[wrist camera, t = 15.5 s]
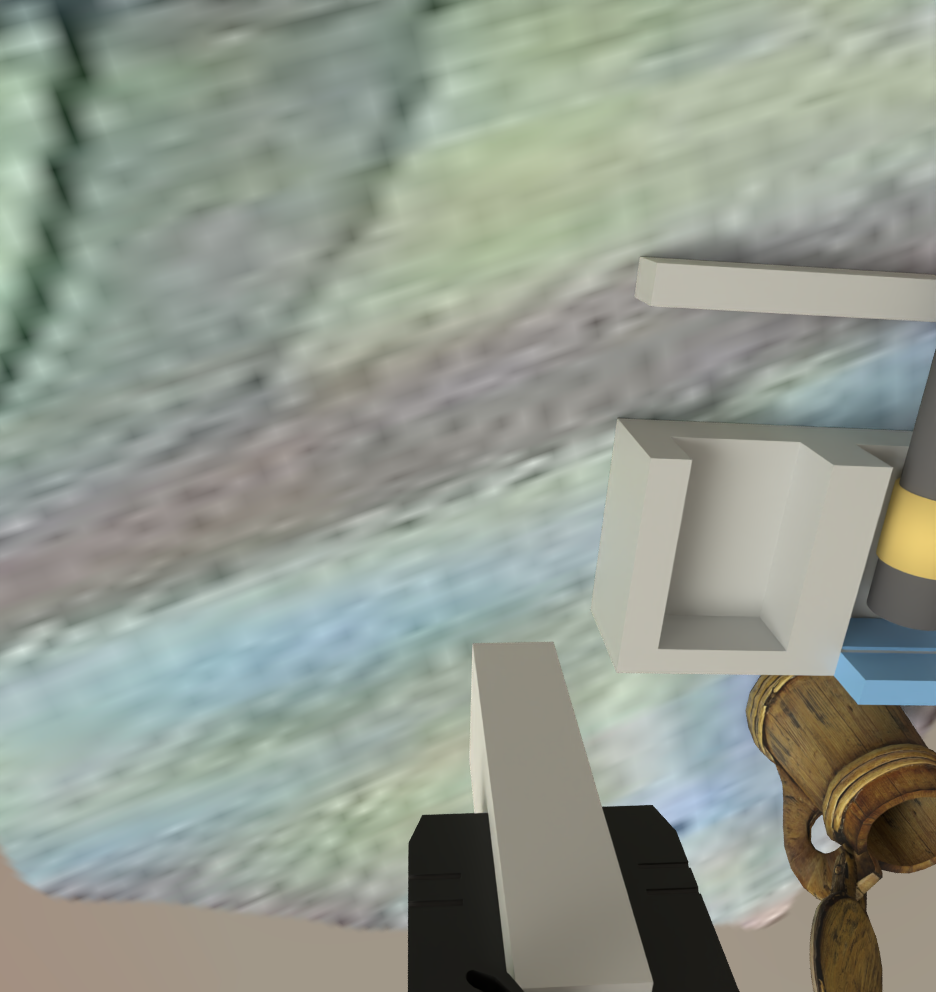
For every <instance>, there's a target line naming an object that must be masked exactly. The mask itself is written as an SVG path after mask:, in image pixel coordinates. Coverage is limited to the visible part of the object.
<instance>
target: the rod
mask: <svg viewBox="0 0 936 992" xmlns="http://www.w3.org/2000/svg"><path fill="white" fill-rule="evenodd" d="M876 554H877V556H878V557H879V558H878V561H877V565H876V569H875V572H874V576H873V579H872V583H871V587H870V590H869V594H868V598H867V606H868V607H869V609H870V610H871V611H872V612H874V613H875V614H876V615H878V616H879V617H881V618H883V619H885V620H887V621H889V622H892V623H894V624H897V625H900V626H903V627H907V628H911V629H916V630H923V631H936V350H935V354H934V357H933V361H932V364H931V368H930V372H929V375H928V379H927V383H926V386H925V390H924V394H923V397H922V401H921V405H920V408H919V412H918V416H917V419H916V423H915V426H914V430H913V434H912V437H911V441H910V445H909V448H908V452H907V456H906V459H905V463H904V467H903V470H902V474H901V477H900V478H898V479H896V480H895V483H894V487H893V490H892V494H891V498H890V501H889V505H888V509H887V512H886V516H885V520H884V523H883V527H882V531H881V534H880V538H879V542H878V545H877V549H876Z"/></svg>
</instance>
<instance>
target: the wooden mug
mask: <svg viewBox="0 0 936 992" xmlns="http://www.w3.org/2000/svg"><path fill="white" fill-rule="evenodd" d="M746 716H747V722H748V728H749V730H750V733H751V735H752V738H753V740H754V743H755V744H756V746H757V747H758V748H759V750H760V751H761V752H762V753H763V754H764V755H765V756H766V757H767V758H768V759H769V760H771V761H772V762H773V763H774V764H776V767H777V770H778V773H779V775H780V778H781V781H782V785H783V832H784V847H785V850H786V854H787V857H788V860H789V863H790V866H791V869H792V871H793V872H794V874H795V875H796V877H797V878H798V880H799V881H800V883H801V884H802V886H803V887H804V888H805V889H806V890H807V891H808V892H810V893H811V894H812V895H813V896H815V897H816V898H817V899H819V900H821V902H820V904H819V905H818V907H817V908H816V911H815V915H814V918H813V923H812V929H811V936H810V969H811V978H812V985H813V991H814V992H882V964H881V958H880V951H879V947H878V943H877V938H876V935H875V933H874V931H873V928H872V925H871V923H870V920H869V917H868V915H867V912H866V905H867V901H866V900H867V891H868V890H869V889H870V888H871V887H872V886H873V885H875V884H876V883H877V882H878V881H879V880H880V879H881V878H882V871H881V870H885V871H889V872H894V873H912V872H916V871H919V870H923V869H926V868H928V867H930V866H932V865H935V864H936V753H935V752H934V751H933V750H931V749H928V747H927V746H926V744H925V743H924V741H923V740H922V738H921V737H920V735H919V734H918V732H917V731H916V729H915V728H914V726H913V725H912V723H911V722H910V720H909V719H908V717H907V716H906V714H905V713H904V711H903V710H902V708H901V707H900V705H858V704H857V703H856V701H855V700H854V699H853V698H852V697H851V696H850V694H849V693H848V692H847V691H846V690H845V688H844V687H843V686H842V685H841V684H840V682H839V681H838V680H837V679H836V678H835V677H834V676H812V675H761V676H760V678H759V679H758V681H757V682H756V684H755V686H754V687H753V689H752V690H751V692H750V695H749V699H748V703H747V707H746ZM821 815H823V820H824V824H825V828H826V832H827V835H828V836H829V837H830V839H831V840H833V841H835V842H837V843H839V844H840V845H842V846H840V847H839V848H838V849H837V850H835V851H833V852H830V853H826V854H825V853H822V852H820V851H818V850H816V849H815V847H814V846H813V844H812V843H811V828H812V826H813V825H814V823H815V821H816V819H817V818H818V817H820V816H821Z"/></svg>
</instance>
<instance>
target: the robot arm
mask: <svg viewBox="0 0 936 992" xmlns="http://www.w3.org/2000/svg"><path fill="white" fill-rule="evenodd" d="M469 761H470V771H471V782H472V792H473V802H474V813H466V814H437V815H422V817H421V819H420V821H419V823H418V825H417V827H416V829H415V831H414V833H413V835H412V837H411V839H410V841H409V856H408V992H740V991H739V989H738V988H737V985H736V982H735V980H734V977H733V975H732V972H731V969H730V967H729V964H728V962H727V959H726V957H725V954H724V952H723V949H722V947H721V944H720V941H719V939H718V936H717V934H716V931H715V929H714V926H713V924H712V921H711V919H710V916H709V913H708V911H707V908H706V906H705V903H704V901H703V898H702V896H701V894H699V892H698V885H697V883H696V880H695V878H694V875H693V873H692V870H691V868H689V866H688V860H687V857H686V855H685V852H684V850H683V847H682V845H681V842H680V840H679V837H678V835H677V832H676V830H675V829H674V828H673V827H672V826H671V825H670V824H669V823H668V822H667V820H666V819H665V818H664V817H663V816H662V815H661V814H660V813H659V812H658V811H657V810H656V808H655V807H654V806H653V805H640V806H610V807H602V806H601V802H600V799H599V795H598V792H597V789H596V785H595V782H594V778H593V775H592V772H591V768H590V765H589V761H588V758H587V754H586V751H585V748H584V744H583V741H582V737H581V734H580V731H579V727H578V724H577V720H576V717H575V714H574V710H573V707H572V703H571V700H570V697H569V693H568V690H567V686H566V683H565V680H564V676H563V673H562V669H561V666H560V663H559V659H558V656H557V652H556V649H555V645H554V642H515V643H473V651H472V686H471V722H470V758H469Z"/></svg>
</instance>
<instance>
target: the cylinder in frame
mask: <svg viewBox="0 0 936 992" xmlns="http://www.w3.org/2000/svg"><path fill="white" fill-rule="evenodd" d="M634 297H635V298H637V299H639V300H641V301H643V302H644V303H646V304H648V305H650V306H658V307H676V308H693V309H711V310H729V311H747V312H765V313H783V314H801V315H819V316H837V317H855V318H873V319H891V320H909V321H927V322H936V275H932V274H916V273H900V272H883V271H867V270H851V269H834V268H818V267H802V266H786V265H769V264H753V263H737V262H720V261H704V260H688V259H671V258H655V257H640V260H639V267H638V275H637V282H636V289H635V296H634ZM912 434H913V431H903V430H880V429H856V428H833V427H810V426H786V425H763V424H739V423H716V422H692V421H669V420H646V419H622V418H617V424H616V431H615V438H614V445H613V452H612V459H611V467H610V474H609V481H608V488H607V495H606V502H605V509H604V516H603V523H602V531H601V538H600V545H599V552H598V559H597V566H596V573H595V580H594V587H593V595H592V602H591V609H590V610H591V612H592V615H593V617H594V620H595V622H596V624H597V627H598V629H599V632H600V634H601V636H602V639H603V641H604V644H605V646H606V649H607V651H608V653H609V656H610V658H611V661H612V663H613V665H614V668H615V670H616V673H666V674H739V675H812V676H834V677H835V678H836V679H837V680H838V681H839V682H840V684H841V685H842V686H843V687H844V688H845V690H846V691H847V692H848V693H849V694H850V696H851V697H852V698H853V699H854V700H855V701H856V703H857V704H858V705H936V631H923V630H916V629H911V628H907V627H903V626H900V625H897V624H894V623H892V622H889V621H887V620H885V619H883V618H881V617H879V616H878V615H876V614H875V613H874V612H872V611H871V610H870V609H869V607H868V606H867V598H868V594H869V590H870V587H871V583H872V579H873V576H874V572H875V569H876V565H877V561H878V558H879V557H878V556H877V554H876V549H877V545H878V542H879V538H880V534H881V531H882V527H883V523H884V520H885V516H886V512H887V509H888V505H889V501H890V498H891V494H892V490H893V487H894V483H895V480H896V479H898V478H900V477H901V474H902V470H903V467H904V463H905V459H906V456H907V452H908V448H909V445H910V441H911V437H912Z"/></svg>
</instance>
